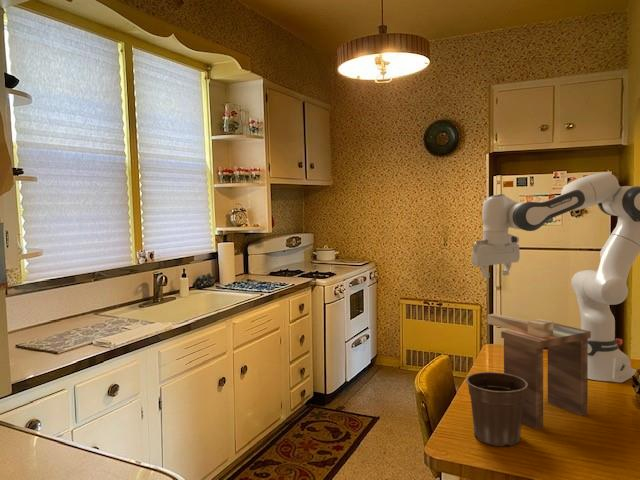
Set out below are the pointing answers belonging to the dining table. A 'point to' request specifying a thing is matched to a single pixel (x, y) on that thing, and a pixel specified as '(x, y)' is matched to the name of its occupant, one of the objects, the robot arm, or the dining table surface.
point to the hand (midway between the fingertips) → (496, 276)
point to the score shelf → (549, 369)
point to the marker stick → (522, 325)
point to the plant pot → (497, 407)
